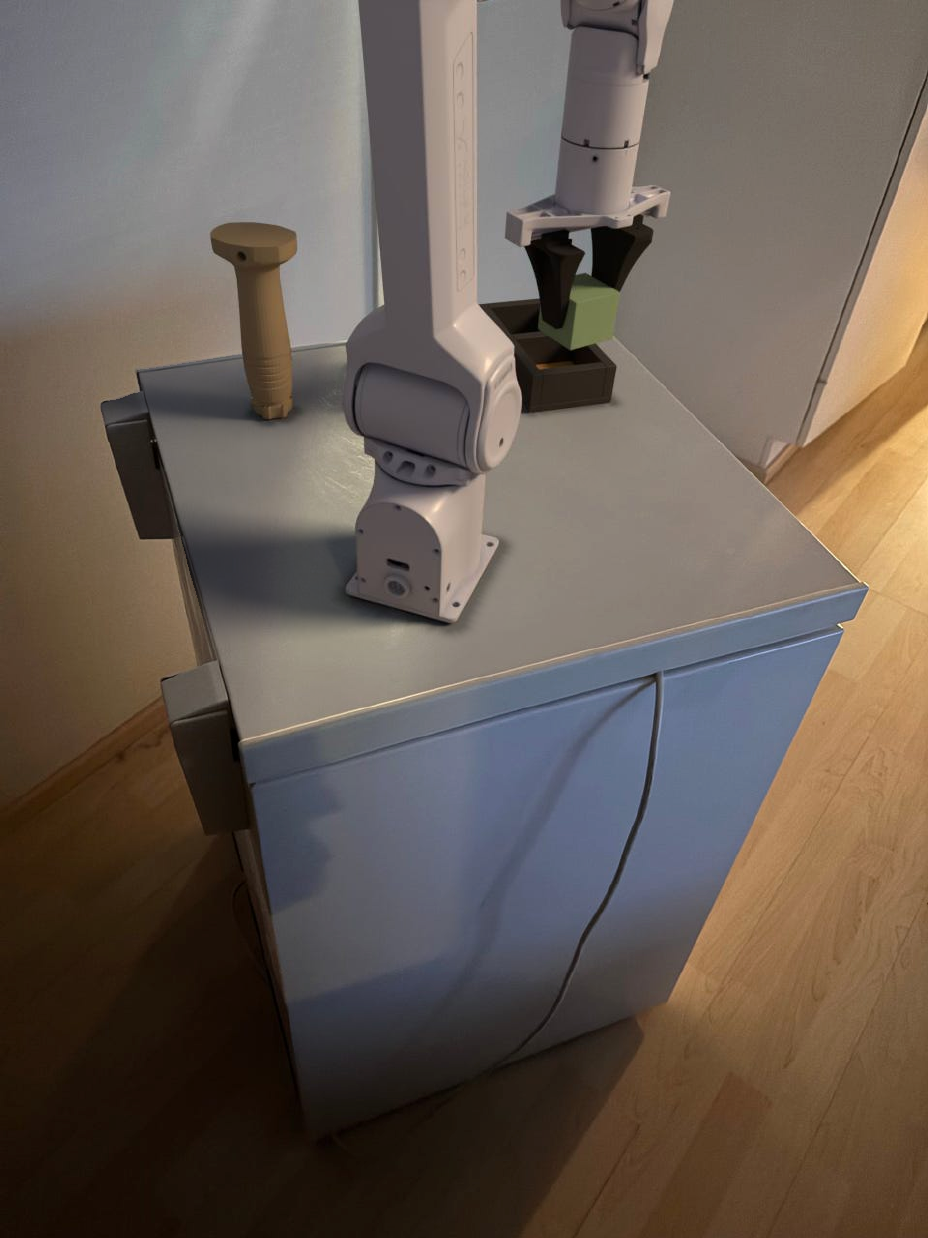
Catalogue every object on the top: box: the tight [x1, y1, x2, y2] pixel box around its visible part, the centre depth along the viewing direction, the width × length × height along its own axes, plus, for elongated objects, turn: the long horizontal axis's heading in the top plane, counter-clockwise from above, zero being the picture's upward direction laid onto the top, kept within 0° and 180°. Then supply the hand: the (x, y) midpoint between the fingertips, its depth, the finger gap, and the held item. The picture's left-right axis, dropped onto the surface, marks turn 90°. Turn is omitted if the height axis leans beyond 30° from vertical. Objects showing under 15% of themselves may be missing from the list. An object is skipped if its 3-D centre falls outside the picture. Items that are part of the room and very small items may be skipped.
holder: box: [478, 298, 618, 414], centre depth 84 cm, size 8×15×4 cm, turn 18°
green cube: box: [538, 272, 621, 350], centre depth 74 cm, size 4×4×4 cm
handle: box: [209, 221, 298, 420], centre depth 72 cm, size 5×6×15 cm
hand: (576, 317), depth 74 cm, fingers closed on green cube, 4 cm apart
